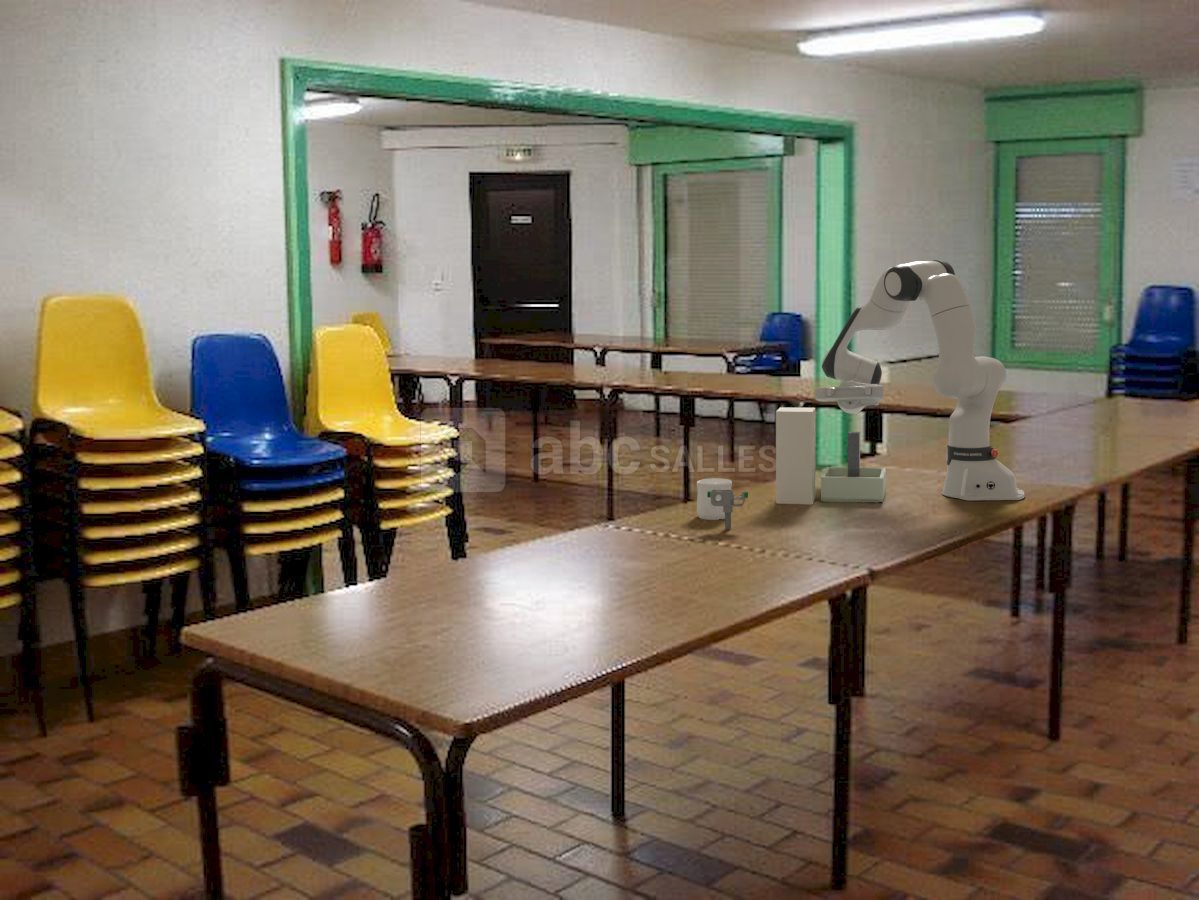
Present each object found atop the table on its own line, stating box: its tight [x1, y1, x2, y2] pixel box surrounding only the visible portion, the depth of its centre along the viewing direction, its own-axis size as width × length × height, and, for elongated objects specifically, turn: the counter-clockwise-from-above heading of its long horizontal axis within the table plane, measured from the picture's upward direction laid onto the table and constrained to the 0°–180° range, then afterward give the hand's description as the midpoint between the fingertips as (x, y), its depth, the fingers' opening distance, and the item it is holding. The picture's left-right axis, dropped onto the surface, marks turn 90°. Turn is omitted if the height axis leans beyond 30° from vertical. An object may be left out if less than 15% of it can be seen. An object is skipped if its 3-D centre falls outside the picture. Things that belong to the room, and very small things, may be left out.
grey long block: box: [843, 431, 864, 477], centre depth 375 cm, size 6×18×5 cm
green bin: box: [820, 466, 887, 503], centre depth 377 cm, size 17×17×7 cm
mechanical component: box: [707, 489, 749, 530], centre depth 338 cm, size 3×10×10 cm, turn 79°
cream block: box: [775, 406, 816, 505], centre depth 371 cm, size 10×9×26 cm
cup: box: [696, 477, 733, 521], centre depth 354 cm, size 10×10×10 cm
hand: (847, 390), depth 389 cm, fingers open, 8 cm apart
